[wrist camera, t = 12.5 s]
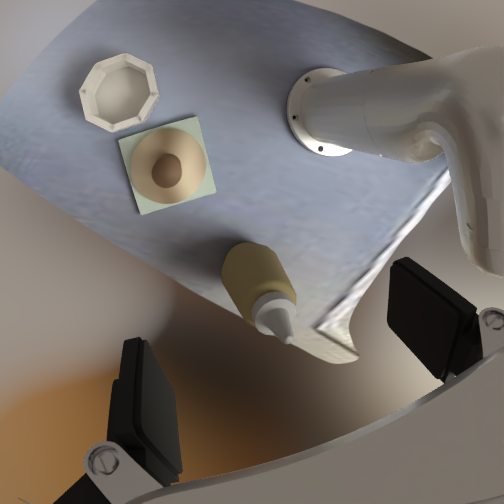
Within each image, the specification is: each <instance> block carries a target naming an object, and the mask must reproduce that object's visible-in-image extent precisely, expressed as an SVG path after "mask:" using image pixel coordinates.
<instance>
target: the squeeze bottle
mask: <svg viewBox="0 0 504 504" xmlns="http://www.w3.org/2000/svg"><path fill="white" fill-rule="evenodd" d="M221 278H222V283H223V285H224V287H225V288H226V290H227V292H228V293H229V295H230V297H231V299H232V300H233V302H234V304H235V305H236V307H237V309H238V310H239V312H240V314H241V315H242V317H243V318H244V320H245V321H246V322H247V323H248V324H250V325H252V326H253V327H256V328H257V329H258V331H260V332H261V333H263V334H266V335H276V336H277V337H278V338H279V339H280V340H281V341H282V342H283V343H285V344H290V343H291V342H293V340H294V334H293V330H292V325H293V324H294V322H295V319H296V317H297V308H296V306H295V305H296V293H295V291H294V289H293V287H292V285H291V283H290V281H289V279H288V277H287V275H286V273H285V271H284V269H283V267H282V265H281V263H280V261H279V259H278V257H277V255H276V253H275V252H274V251H272V250H271V249H270V248H268V247H267V246H264V245H260V244H256V243H251V242H244V243H239V244H237V245H236V246H234V247H232V248H231V250H230V251H229V252H228V253H227V255H226V258H225V260H224V263H223V267H222V270H221Z"/></svg>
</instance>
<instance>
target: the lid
mask: <svg viewBox="0 0 504 504" xmlns="http://www.w3.org/2000/svg"><path fill="white" fill-rule="evenodd" d="M130 172H131V177H132V180H133V183H134V185H135V187H136V188H137V189H138V191H139V192H140V193H141V194H142V195H143V196H145V197H146V198H148V199H149V200H151V201H154V202H157V203H162V204H173V203H177V202H180V201H183V200H185V199H187V198H188V197H190V196H191V195H192V194H193V193H194V192H195V191H196V190H197V189H198V188H199V186H200V185H201V183H202V181H203V179H204V176H205V172H206V158H205V154H204V151H203V149H202V147H201V146H200V144H199V143H198V142H197V140H196V139H195V138H193V137H192V136H191V135H189V134H188V133H186V132H184V131H181V130H177V129H162V130H158V131H155V132H153V133H151V134H149V135H148V136H146V137H145V138H144V139H143V140H141V142H140V143H139V144H138V145H137V147H136V148H135V150H134V152H133V155H132V158H131V163H130Z"/></svg>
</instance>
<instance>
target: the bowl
mask: <svg viewBox="0 0 504 504" xmlns="http://www.w3.org/2000/svg"><path fill="white" fill-rule="evenodd" d="M79 94H80V98H81V102H82V107H83V111H84V115H85V119H86V120H87V121H89V122H91V123H93V124H95V125H97V126H99V127H101V128H103V129H105V130H107V131H109V132H111V133H112V132H119V131H122V130H125V129H127V128H131V127H134V126H136V125H139V124H142V123H145V122H146V120H147V118H148V117H149V115H150V114H151V113H152V111H153V110H154V108H155V106H156V104H157V102H158V100H159V99H160V95H159V91H158V86H157V82H156V78H155V74H154V70H153V67H152V65H150V64H148V63H146V62H144V61H142V60H140V59H138V58H136V57H134V56H132V55H130V54H128V53H123V54H120V55H117V56H114V57H111V58H108V59H106V60H103V61H100V62H98V63H95V65H94V66H93V68H92V70H91V71H90V73H89V75H88V76H87V78H86V80H85V81H84V83H83V85H82V87H81V88H80V90H79Z"/></svg>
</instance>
